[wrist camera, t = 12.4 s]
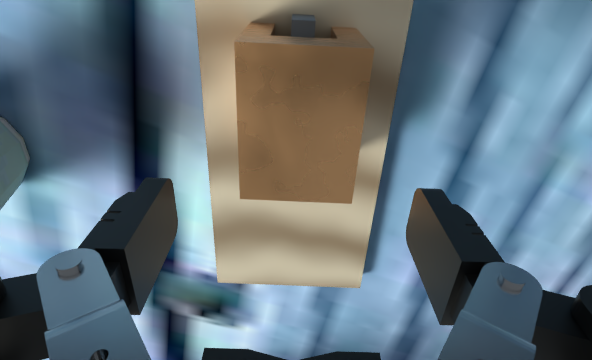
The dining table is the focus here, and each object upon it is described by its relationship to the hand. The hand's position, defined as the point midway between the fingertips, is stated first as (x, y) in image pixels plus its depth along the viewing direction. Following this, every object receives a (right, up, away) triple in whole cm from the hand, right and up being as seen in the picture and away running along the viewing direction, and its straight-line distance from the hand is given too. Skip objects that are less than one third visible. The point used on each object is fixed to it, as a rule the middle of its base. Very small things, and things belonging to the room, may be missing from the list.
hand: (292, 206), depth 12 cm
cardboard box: (0, +6, +11) cm, 12 cm away
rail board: (0, +2, +15) cm, 15 cm away
